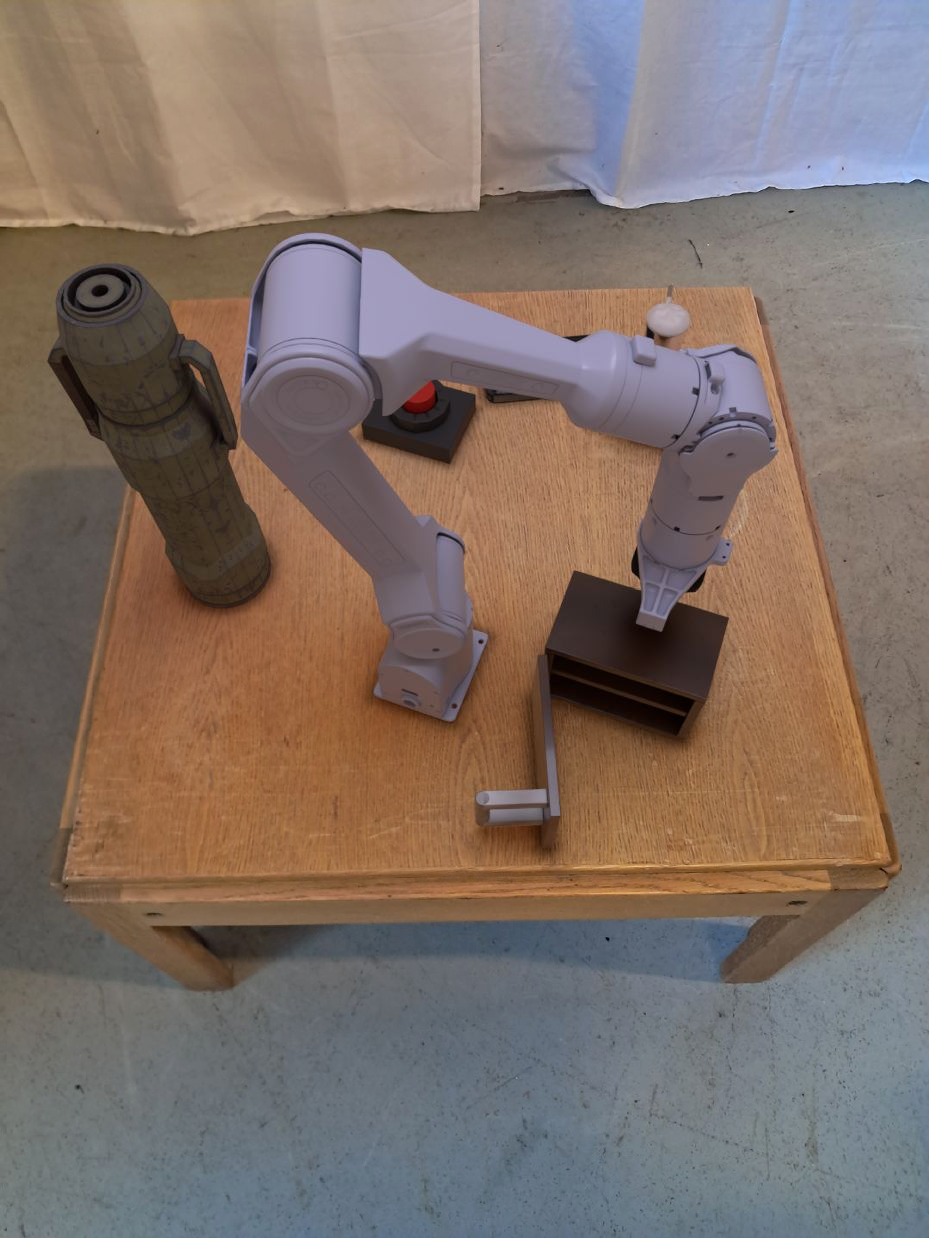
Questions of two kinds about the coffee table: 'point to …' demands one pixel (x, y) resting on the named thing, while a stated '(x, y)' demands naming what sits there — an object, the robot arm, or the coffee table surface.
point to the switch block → (424, 424)
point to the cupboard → (632, 657)
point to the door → (544, 800)
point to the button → (421, 400)
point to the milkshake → (667, 323)
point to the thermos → (161, 426)
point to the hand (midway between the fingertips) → (657, 597)
